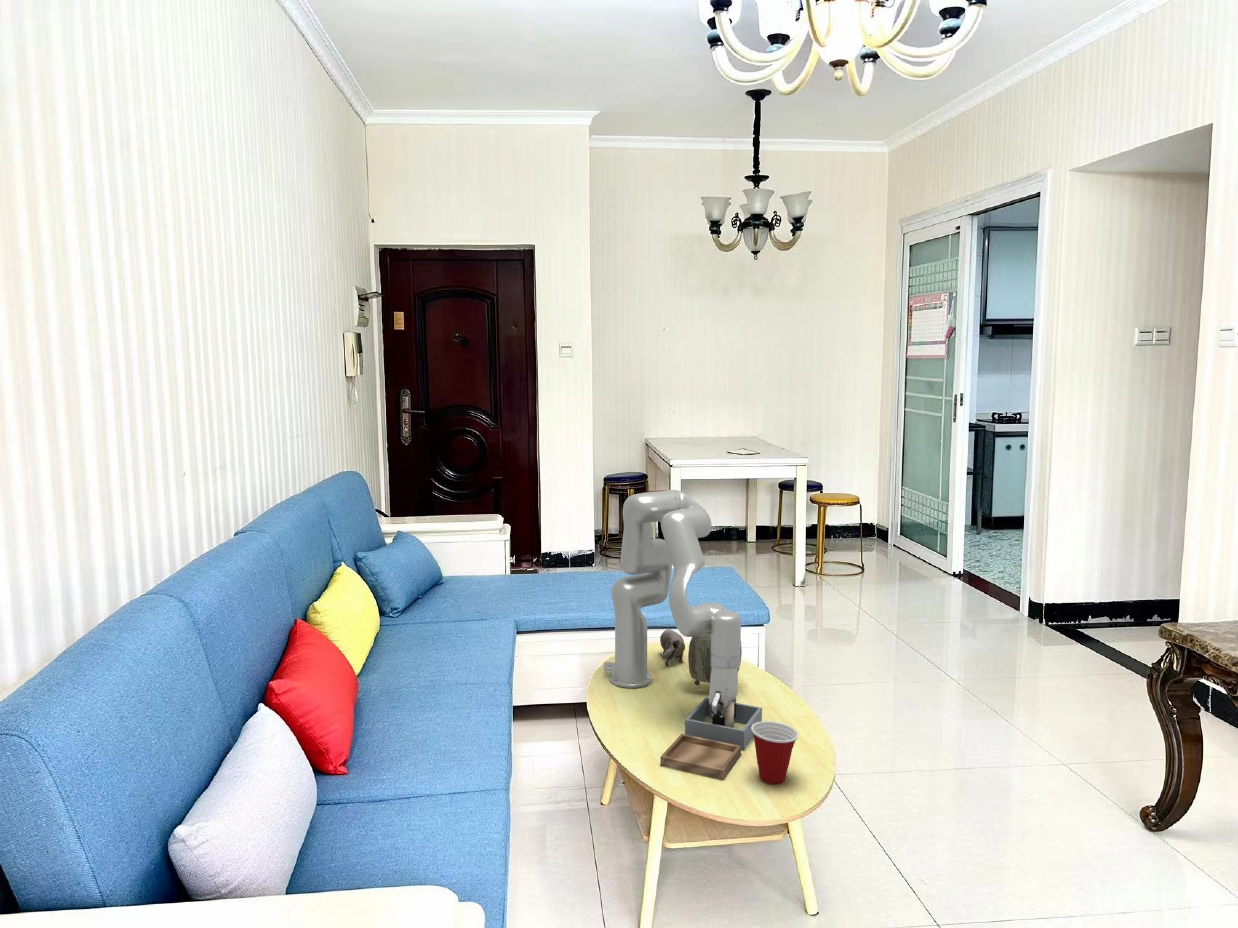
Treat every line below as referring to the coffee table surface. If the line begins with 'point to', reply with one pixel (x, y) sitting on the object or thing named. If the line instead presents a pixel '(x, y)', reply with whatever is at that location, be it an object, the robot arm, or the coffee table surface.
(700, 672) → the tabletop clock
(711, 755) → the tray
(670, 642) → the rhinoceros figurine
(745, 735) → the grey square frame
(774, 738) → the plastic cup
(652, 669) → the coffee table surface
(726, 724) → the beige grooved cylinder
